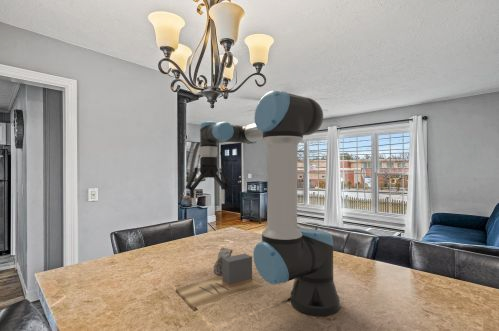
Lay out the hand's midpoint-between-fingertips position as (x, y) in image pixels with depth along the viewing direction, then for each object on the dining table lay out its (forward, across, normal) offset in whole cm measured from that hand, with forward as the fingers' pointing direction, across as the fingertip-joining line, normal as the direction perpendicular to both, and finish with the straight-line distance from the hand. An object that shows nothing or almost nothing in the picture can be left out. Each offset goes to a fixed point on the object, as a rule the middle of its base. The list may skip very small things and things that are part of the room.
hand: (208, 204), depth 115 cm
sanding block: (+27, -2, +22) cm, 35 cm away
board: (+28, +6, +23) cm, 36 cm away
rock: (+28, -4, +6) cm, 29 cm away
